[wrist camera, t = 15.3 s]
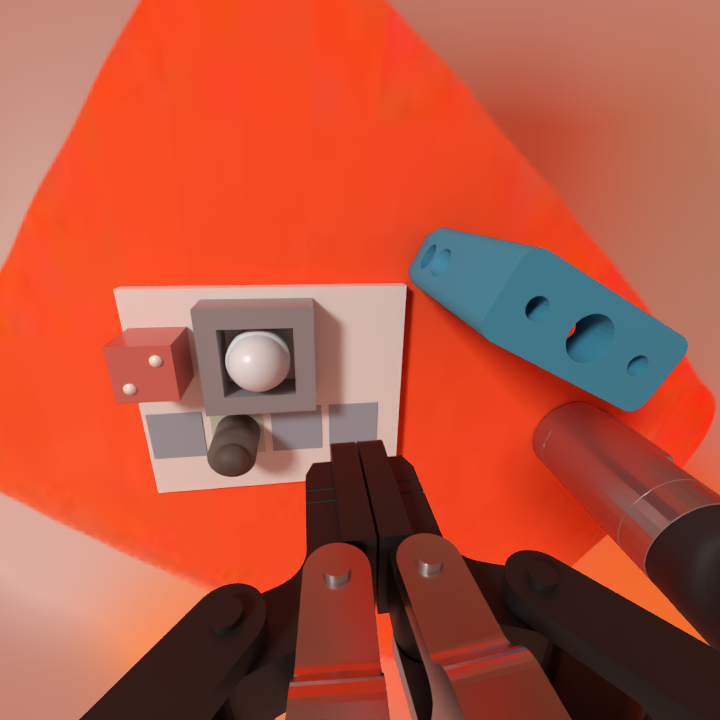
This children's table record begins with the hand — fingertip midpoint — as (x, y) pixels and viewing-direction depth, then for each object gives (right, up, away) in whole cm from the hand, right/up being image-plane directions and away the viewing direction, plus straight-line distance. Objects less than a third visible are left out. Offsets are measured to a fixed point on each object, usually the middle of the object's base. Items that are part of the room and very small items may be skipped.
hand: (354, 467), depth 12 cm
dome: (-9, +4, +26) cm, 28 cm away
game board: (-9, 0, +30) cm, 31 cm away
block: (+9, +12, +28) cm, 32 cm away
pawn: (-12, -4, +29) cm, 32 cm away
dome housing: (-9, +4, +26) cm, 28 cm away
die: (-18, +4, +25) cm, 31 cm away
